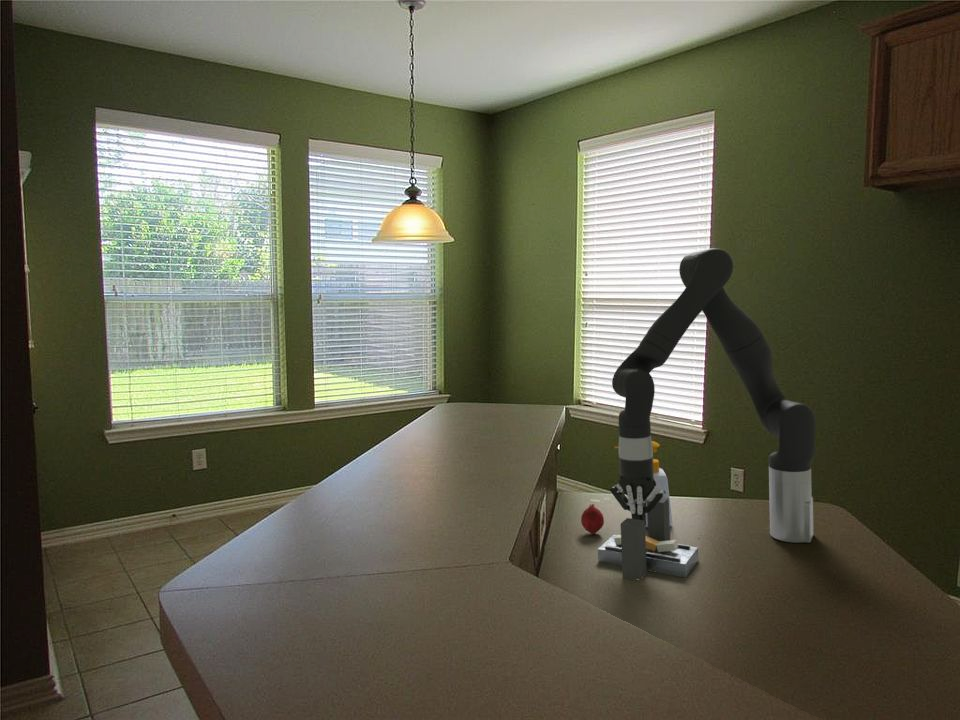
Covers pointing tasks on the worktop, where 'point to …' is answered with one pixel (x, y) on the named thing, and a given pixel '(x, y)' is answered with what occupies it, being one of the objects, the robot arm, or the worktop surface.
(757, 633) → the worktop surface
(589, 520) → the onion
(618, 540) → the paddle
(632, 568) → the cord post
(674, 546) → the paddle
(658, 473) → the soap bottle
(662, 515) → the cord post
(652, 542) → the orange block
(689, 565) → the breaker panel
